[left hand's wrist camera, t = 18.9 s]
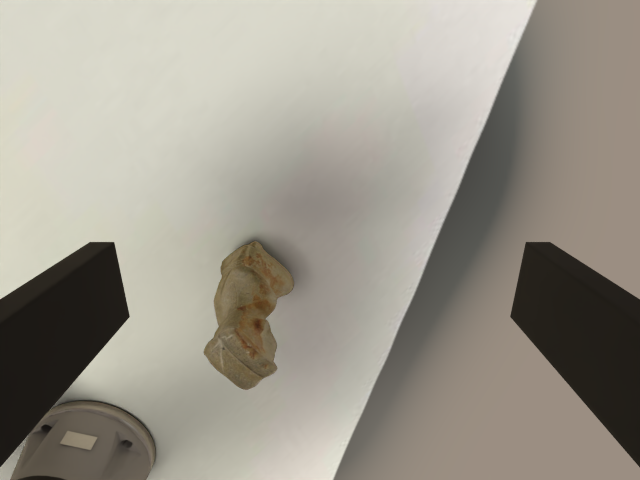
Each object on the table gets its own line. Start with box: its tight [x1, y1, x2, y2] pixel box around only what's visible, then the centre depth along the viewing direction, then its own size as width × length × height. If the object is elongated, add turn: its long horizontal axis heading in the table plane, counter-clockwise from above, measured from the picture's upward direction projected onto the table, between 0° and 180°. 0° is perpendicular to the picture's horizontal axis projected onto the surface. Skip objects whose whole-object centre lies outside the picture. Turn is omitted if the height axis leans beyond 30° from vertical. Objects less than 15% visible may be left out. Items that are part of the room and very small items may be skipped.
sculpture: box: [204, 241, 294, 390], centre depth 33 cm, size 6×7×15 cm
